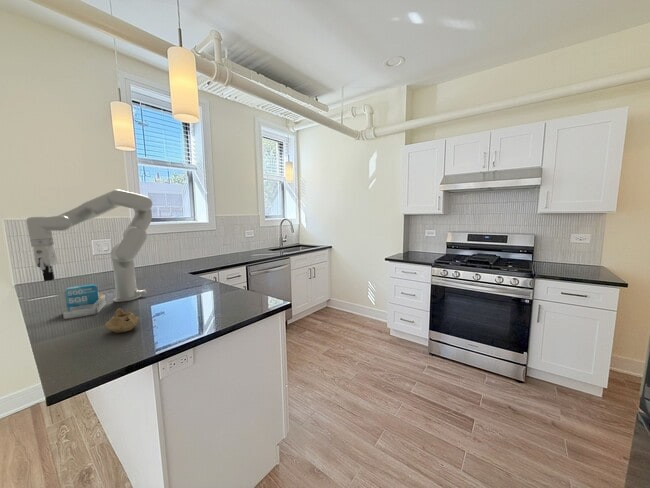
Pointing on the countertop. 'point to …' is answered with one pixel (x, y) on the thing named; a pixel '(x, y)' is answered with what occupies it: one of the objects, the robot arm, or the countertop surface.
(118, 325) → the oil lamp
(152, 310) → the countertop surface
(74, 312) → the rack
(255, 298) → the countertop surface
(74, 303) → the data package
